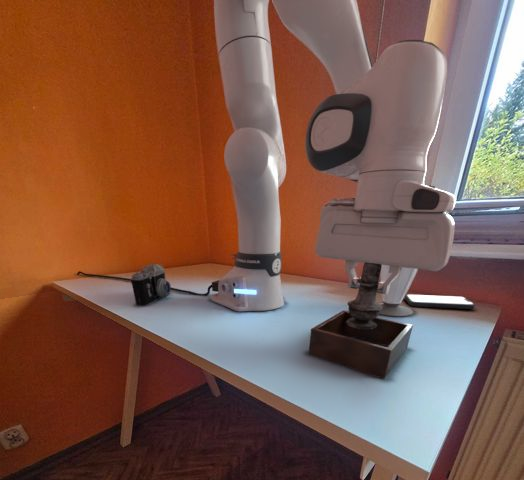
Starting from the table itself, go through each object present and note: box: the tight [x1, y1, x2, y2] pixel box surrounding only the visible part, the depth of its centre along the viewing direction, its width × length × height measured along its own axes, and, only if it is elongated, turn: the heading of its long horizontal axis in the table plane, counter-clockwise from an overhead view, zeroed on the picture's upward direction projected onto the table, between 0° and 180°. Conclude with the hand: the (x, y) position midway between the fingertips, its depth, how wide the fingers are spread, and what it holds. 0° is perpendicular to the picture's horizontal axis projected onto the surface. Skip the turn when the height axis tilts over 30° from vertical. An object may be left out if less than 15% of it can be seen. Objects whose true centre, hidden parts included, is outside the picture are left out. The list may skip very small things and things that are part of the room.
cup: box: [377, 265, 419, 318], centre depth 69 cm, size 12×12×22 cm
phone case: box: [404, 294, 476, 310], centre depth 78 cm, size 9×2×16 cm
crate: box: [308, 310, 414, 379], centre depth 50 cm, size 14×14×5 cm
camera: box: [130, 263, 172, 307], centre depth 80 cm, size 15×7×10 cm, turn 171°
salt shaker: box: [346, 262, 383, 330], centre depth 46 cm, size 6×6×12 cm
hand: (367, 290), depth 46 cm, fingers closed on salt shaker, 3 cm apart
